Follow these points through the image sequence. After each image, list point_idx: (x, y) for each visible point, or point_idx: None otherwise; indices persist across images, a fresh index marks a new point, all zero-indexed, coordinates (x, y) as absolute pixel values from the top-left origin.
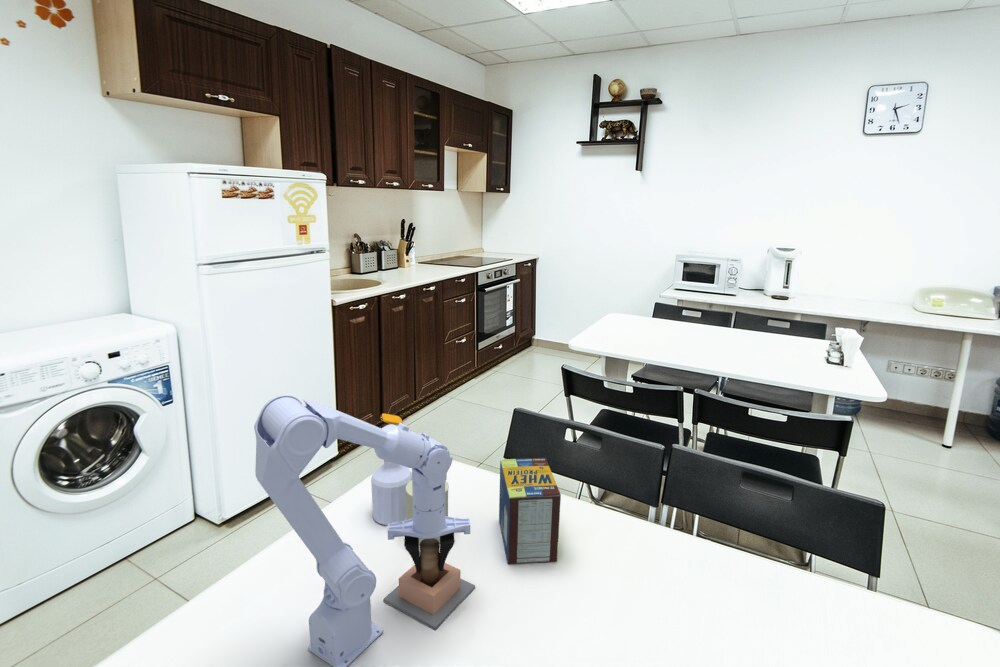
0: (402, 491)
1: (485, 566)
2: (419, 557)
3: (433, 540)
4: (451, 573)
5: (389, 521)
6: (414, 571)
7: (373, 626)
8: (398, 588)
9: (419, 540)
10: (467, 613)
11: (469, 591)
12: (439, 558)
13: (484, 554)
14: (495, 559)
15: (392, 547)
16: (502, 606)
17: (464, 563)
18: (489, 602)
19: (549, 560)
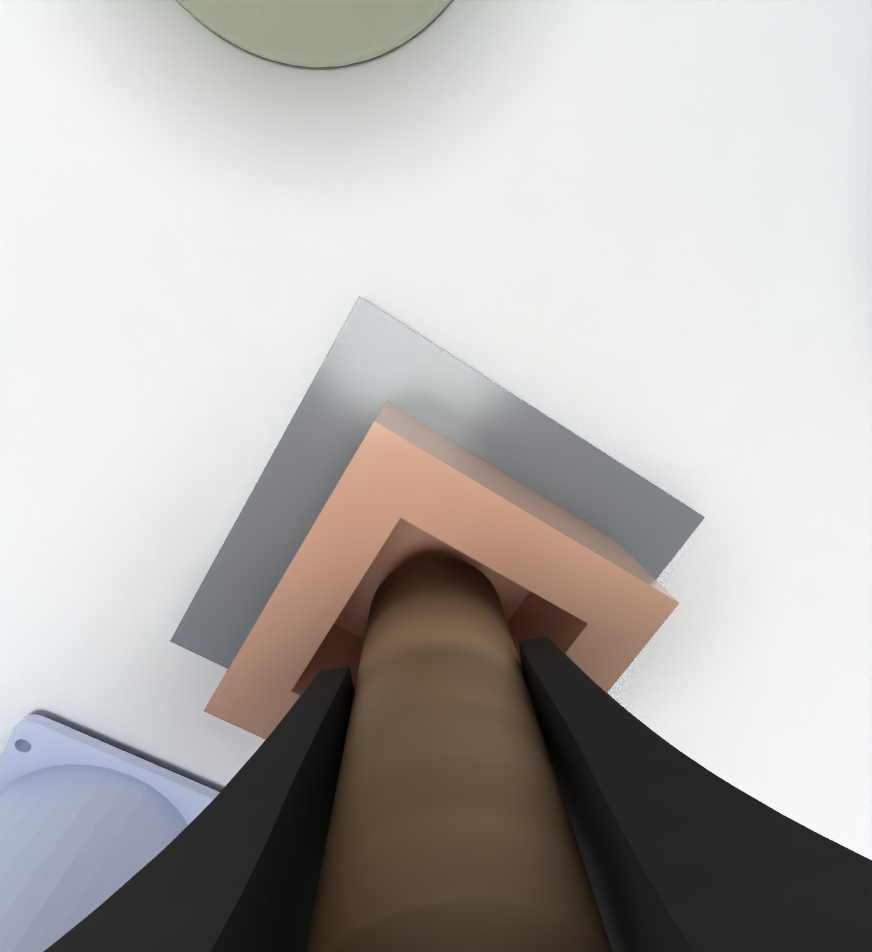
0: None
1: (782, 307)
2: (332, 806)
3: (519, 946)
4: (606, 642)
5: None
6: (309, 639)
7: (186, 804)
8: (234, 560)
9: (251, 20)
10: (638, 681)
11: (665, 565)
12: (542, 722)
13: (795, 164)
14: (866, 225)
15: (42, 81)
16: (823, 631)
17: (639, 279)
18: (759, 608)
19: None
